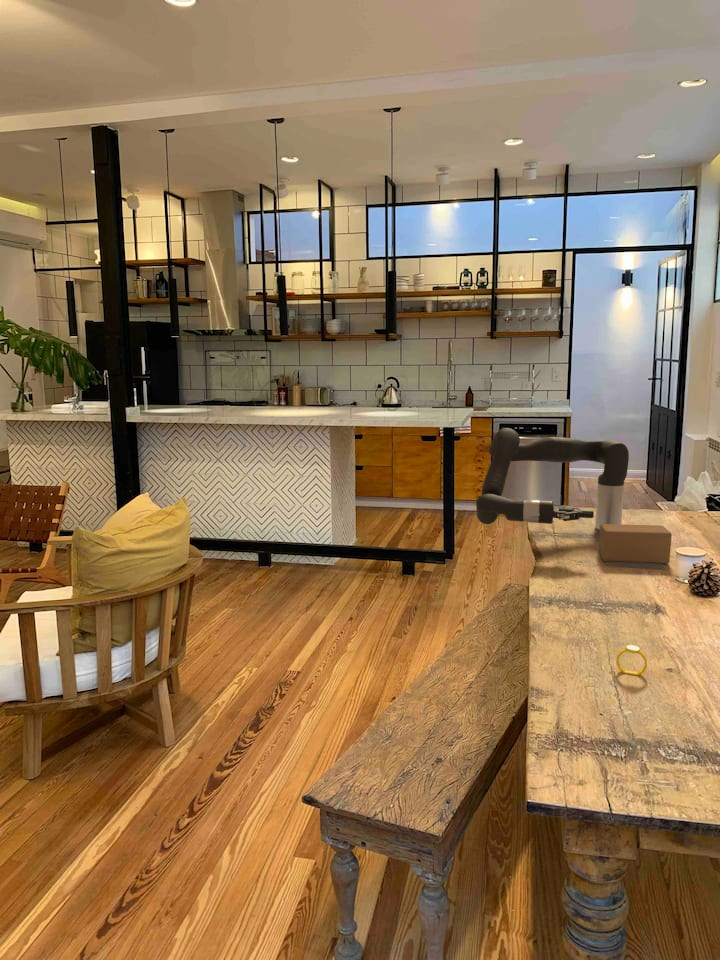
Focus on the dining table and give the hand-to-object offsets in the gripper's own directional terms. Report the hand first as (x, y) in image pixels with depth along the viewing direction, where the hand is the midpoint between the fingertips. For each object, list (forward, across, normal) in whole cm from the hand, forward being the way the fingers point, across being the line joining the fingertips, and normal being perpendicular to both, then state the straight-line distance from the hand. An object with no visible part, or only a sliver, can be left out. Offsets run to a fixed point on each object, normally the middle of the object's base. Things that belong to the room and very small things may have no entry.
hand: (593, 514), depth 231 cm
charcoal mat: (+13, -1, -15) cm, 20 cm away
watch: (+4, +84, -16) cm, 85 cm away
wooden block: (+3, -2, -10) cm, 10 cm away
